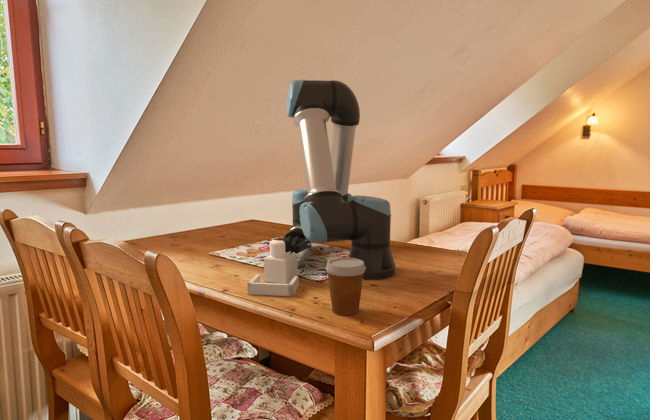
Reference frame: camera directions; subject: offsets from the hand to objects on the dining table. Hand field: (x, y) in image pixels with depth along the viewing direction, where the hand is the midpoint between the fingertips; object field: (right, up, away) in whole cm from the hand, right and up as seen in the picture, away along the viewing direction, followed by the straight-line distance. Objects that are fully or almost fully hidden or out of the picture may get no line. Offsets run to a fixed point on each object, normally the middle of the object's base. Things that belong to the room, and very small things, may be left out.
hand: (280, 255), depth 145 cm
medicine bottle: (0, -7, -3) cm, 8 cm away
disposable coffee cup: (+18, -11, -28) cm, 35 cm away
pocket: (-1, -8, -13) cm, 15 cm away
